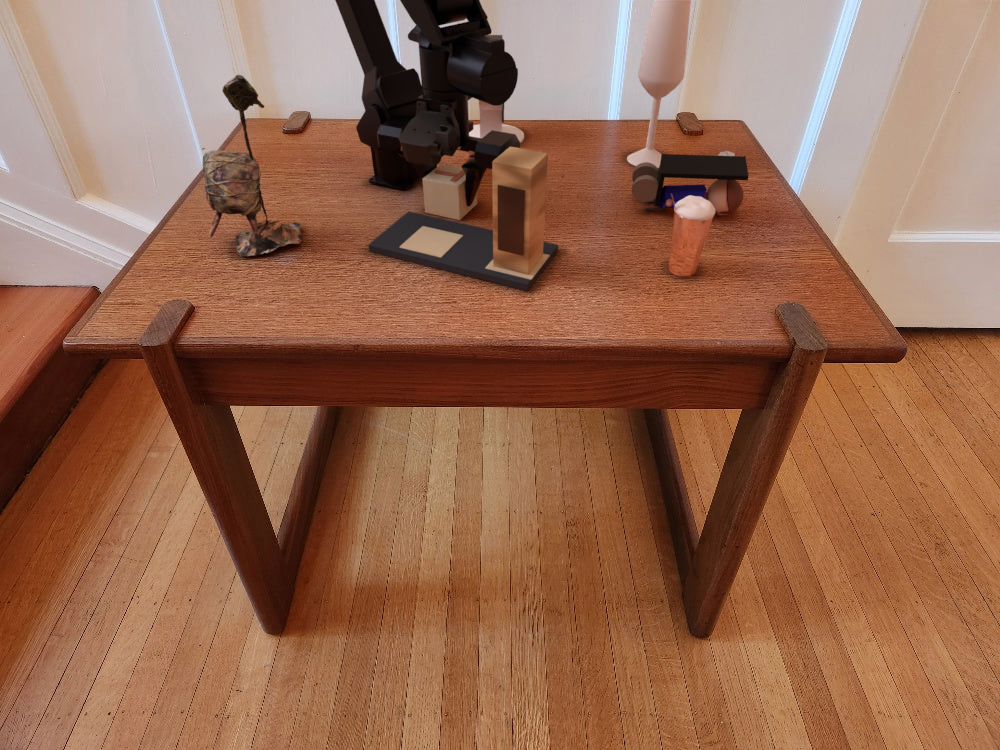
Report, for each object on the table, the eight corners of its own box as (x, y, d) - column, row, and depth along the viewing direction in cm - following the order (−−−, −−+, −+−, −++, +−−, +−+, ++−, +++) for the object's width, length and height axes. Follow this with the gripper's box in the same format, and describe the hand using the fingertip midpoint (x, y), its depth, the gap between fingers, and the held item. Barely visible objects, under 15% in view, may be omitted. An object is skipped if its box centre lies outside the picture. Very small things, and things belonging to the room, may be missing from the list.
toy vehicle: (630, 225, 90) (743, 224, 86) (631, 173, 85) (751, 170, 82) (631, 204, 95) (738, 201, 91) (632, 154, 90) (745, 149, 87)
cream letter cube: (425, 212, 90) (422, 177, 86) (443, 196, 93) (441, 162, 90) (459, 220, 88) (458, 185, 85) (477, 203, 92) (476, 169, 88)
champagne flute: (677, 162, 103) (709, -10, 87) (647, 172, 100) (674, -4, 84) (648, 148, 107) (673, -18, 91) (618, 157, 104) (638, -13, 88)
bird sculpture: (222, 230, 86) (171, 72, 73) (308, 225, 87) (273, 68, 74) (209, 262, 80) (151, 95, 67) (302, 256, 81) (263, 90, 68)
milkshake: (652, 261, 80) (665, 185, 73) (694, 259, 80) (711, 183, 74) (662, 281, 76) (677, 203, 70) (705, 278, 77) (725, 201, 70)
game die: (732, 168, 101) (737, 149, 99) (737, 178, 98) (741, 159, 96) (710, 167, 101) (714, 148, 99) (713, 177, 98) (717, 158, 96)
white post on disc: (524, 151, 106) (527, 53, 96) (456, 151, 106) (451, 53, 96) (523, 125, 115) (525, 33, 105) (460, 125, 115) (456, 32, 105)
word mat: (369, 251, 82) (367, 243, 81) (409, 217, 89) (408, 210, 88) (527, 291, 75) (528, 283, 74) (557, 251, 82) (558, 243, 81)
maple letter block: (492, 266, 77) (491, 161, 68) (509, 248, 80) (510, 146, 72) (527, 275, 75) (530, 169, 67) (543, 256, 79) (548, 153, 70)
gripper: (344, 94, 77) (363, 212, 87) (484, 116, 71) (486, 241, 82) (393, 69, 85) (405, 181, 95) (523, 87, 79) (520, 204, 89)
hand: (451, 201), depth 90 cm, fingers closed on cream letter cube, 5 cm apart
